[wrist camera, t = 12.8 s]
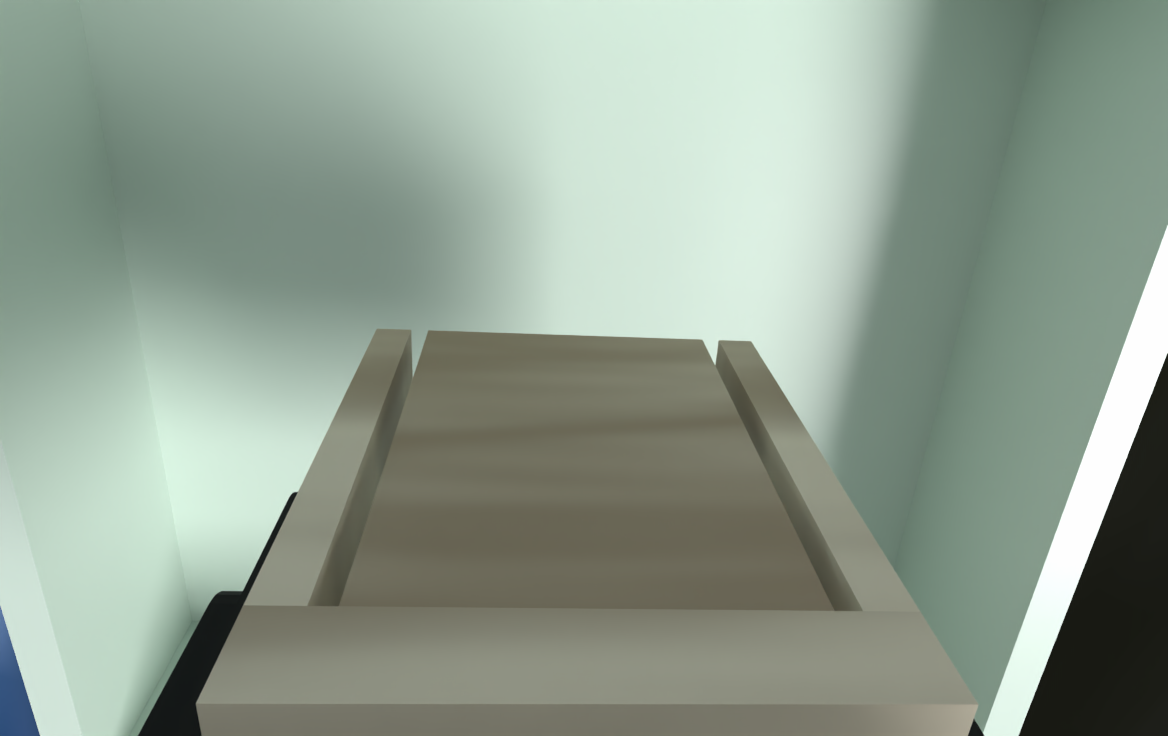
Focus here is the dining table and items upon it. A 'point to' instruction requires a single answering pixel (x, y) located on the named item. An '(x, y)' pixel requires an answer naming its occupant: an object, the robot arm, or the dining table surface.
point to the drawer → (575, 560)
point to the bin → (567, 273)
